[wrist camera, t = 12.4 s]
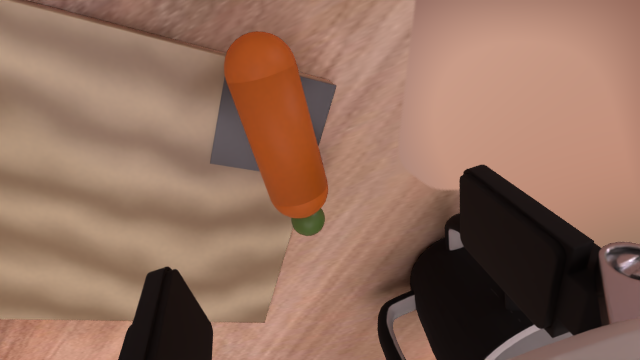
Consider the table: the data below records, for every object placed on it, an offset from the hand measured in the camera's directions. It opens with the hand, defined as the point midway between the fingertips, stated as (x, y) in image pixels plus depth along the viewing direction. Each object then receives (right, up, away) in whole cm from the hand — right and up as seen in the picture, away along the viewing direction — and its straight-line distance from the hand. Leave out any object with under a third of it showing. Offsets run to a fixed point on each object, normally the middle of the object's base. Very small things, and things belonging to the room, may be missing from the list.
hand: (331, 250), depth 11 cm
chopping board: (-12, +1, +14) cm, 19 cm away
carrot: (-3, +6, +12) cm, 14 cm away
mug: (+13, -7, +25) cm, 29 cm away
